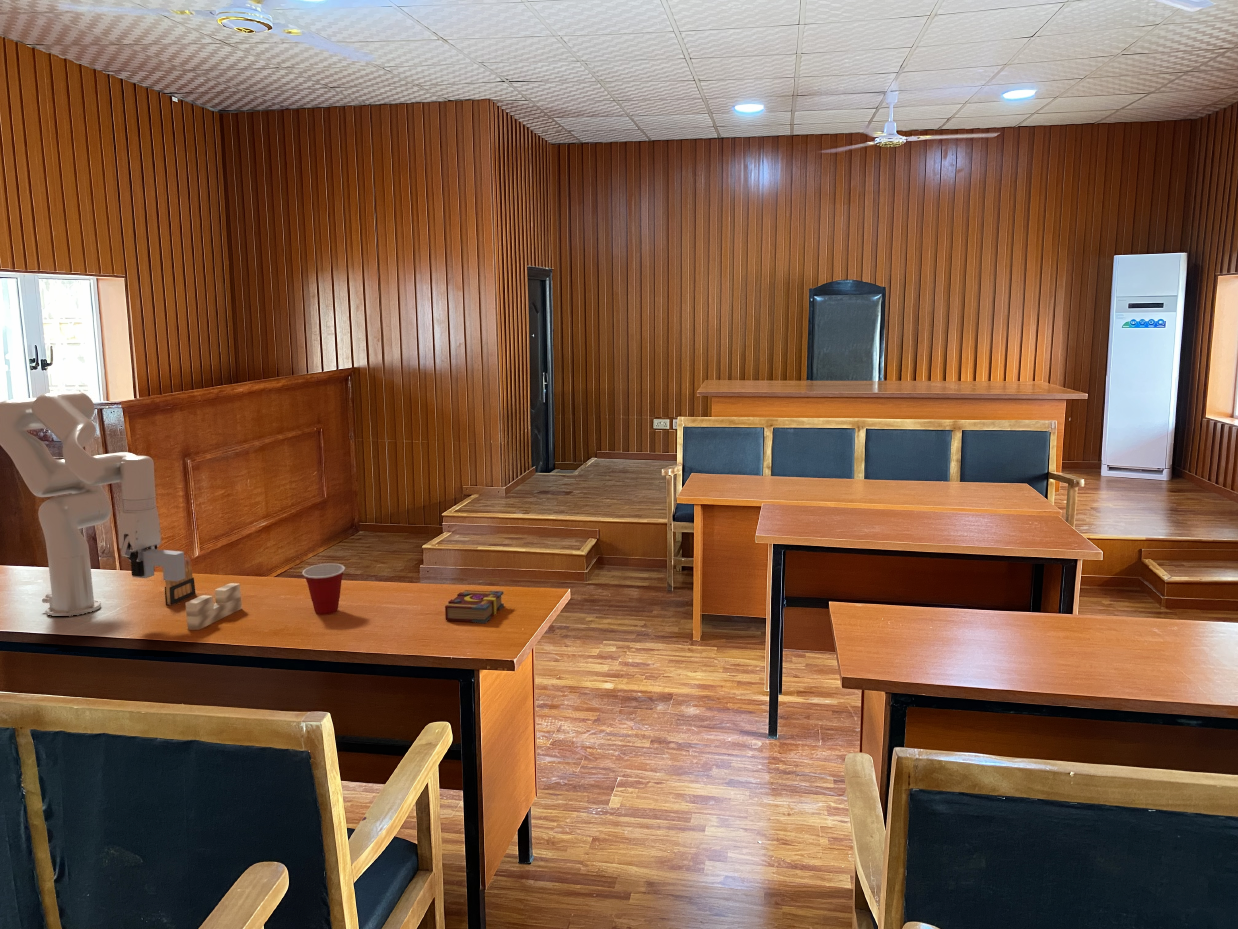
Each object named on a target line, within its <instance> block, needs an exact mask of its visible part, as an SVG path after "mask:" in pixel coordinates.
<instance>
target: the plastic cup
mask: <svg viewBox="0 0 1238 929" xmlns="http://www.w3.org/2000/svg"><path fill="white" fill-rule="evenodd" d="M345 569H346V566H344V565H343V564H339V563H330V562H329V563H320V564H314V565H312V566H309V567H307V568H305V569H303V570H302V573H301V574H302V575H303V576H304V578H305V581H306V583H307V589H308V592H309V596H310V599H311V602H312V605H313V611H314V612H315V614H316V615H319V616H320V615H321V616H327V615H332V614H335V613H336V612H338V610H339V605H340V604H339V602H340V598H341V591H342V589H341V587H342V580H343V575H344V572H345Z"/></svg>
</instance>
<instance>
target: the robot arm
mask: <svg viewBox="0 0 1238 929" xmlns="http://www.w3.org/2000/svg"><path fill="white" fill-rule="evenodd" d="M95 410H96V409H95V404H94V402H93V400H92V398H91V397H90V396H88V395H87V393H84V392H81V391H78V390H77V391H61V392H60V391H57V392H48V393H43V394H41V395H39V396H37V397H24V398H13V399H7V400H3V401H0V446H1V447H2V449H3V450H4V451H5V452H6V453H7V454H8V456H9V457H10V458H11V460H12V462H13V464H14V465H15V468H16V469H17V470H18V473H19V474H20V475H21V478H22V479H23V481H24V483H25V485H26V486H27V488H28V489H29V491H30V492H31V493H32V494H33V495H34V496H35V497H37V498H47V497H48V498H49V497H52V498H49V499H47V500H45V501H44V502H42V503H41V505H40V506H39V508H38V511H37V512H38V521H39V524H40V526H41V529H42V532H43V536H44V539H45V546H46V555H47V562H48V571H49V579H50V580H49V582H50V591H51V593H47V594H46V595H45V596H44V597H42V600H41V602H42V603H43V604H48V603H49V607H48V608H47V609H46V610H45V612H46V615H47V614H49V615H52V616H69V617H74V616H73V615H77V616H80V615H79V614H82V615H85V614H84V613H86V614H88V613H87V612H90V613H93V612H95V611H98V610H99V609H100V608H101V607H102V603H101V601H99V600H97V599H96V600H95V599H94V588H93V578H92V567H91V559H90V558H91V557H90V548H89V543H88V541H87V540H86V538H85V536H83V535H82V533H81V532H80V531H79V530H80V529H82V528H88V527H92V526H97V525H100V524H104V523H105V522H107V521H108V520H109V519H110V517H111V515H112V511H113V510H112V504H111V501H110V499H109V497H108V495H107V493H106V492H105V490H104V487H103V485H109V484H114V483H120V484H121V486H120V488H121V502H122V504H121V506H122V511H121V512H120V514H119V521H118V547H119V549H120V550H121V551H120V555H121V556H123V557H126V558H127V559H128V561H129V562H130V569H131V576H140V577H142V576H144V565H143V561H141V556H142V549H144V548H146V549H157V550H158V548H159V546H161V544H162V539H161V538H162V535H161V532H162V531H161V523H160V522H161V521H160V517H159V513H158V512H159V511H158V508H157V498H156V482H155V478H156V476H155V464H154V463H155V462H154V460H153V458H152V457H150V456H148V455H137V454H134V453H132V452H127V451H120V452H114V453H106V454H99V455H97V454H96V455H91V454H90V453H89V452H87V451H86V450H85V449H84V447H86V446H87V445H89V444H90V443H91V442H92V441H93V439H94V438H95V437H96V434H97V428H96V424H94V422H93V421H91V419H92V418H93V416H94V414H95ZM39 429H41V430H42V429H47V430H48V431H49V432H51V433H52V435H53V436H55V437H56V438H57V439H58V440H59V441H60V442H61V443H63V445H62V456H63V458H62V459H57V458H55V457H54V456H53V455H52V454H51V452H50V450H49V449H48V447H47V445H46V444H45V443H44V442H43V441H42V440H41V439H39V438H38V437H36V436H35V435H33V434H31V433H30V432H28V431H29V430H39ZM134 552H136V554H135V553H134ZM154 572H155V569H154ZM92 611H93V612H92ZM71 615H72V616H71Z"/></svg>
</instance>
